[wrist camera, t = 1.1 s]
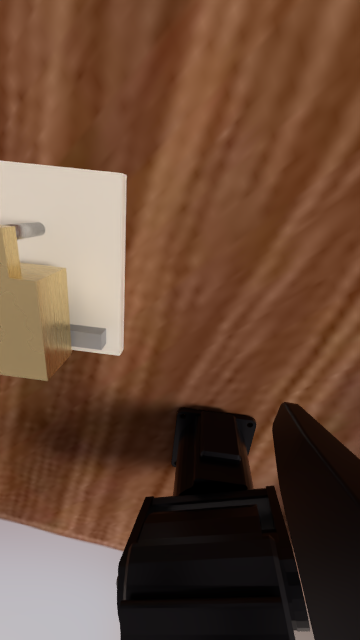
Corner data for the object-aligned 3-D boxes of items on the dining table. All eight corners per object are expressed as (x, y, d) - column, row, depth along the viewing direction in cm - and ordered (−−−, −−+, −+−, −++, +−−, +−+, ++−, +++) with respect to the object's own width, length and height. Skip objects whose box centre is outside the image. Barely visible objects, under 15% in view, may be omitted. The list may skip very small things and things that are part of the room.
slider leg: (77, 347, 20) (47, 380, 16) (23, 340, 20) (-19, 372, 16) (70, 225, 16) (30, 230, 13) (6, 218, 16) (-53, 221, 13)
